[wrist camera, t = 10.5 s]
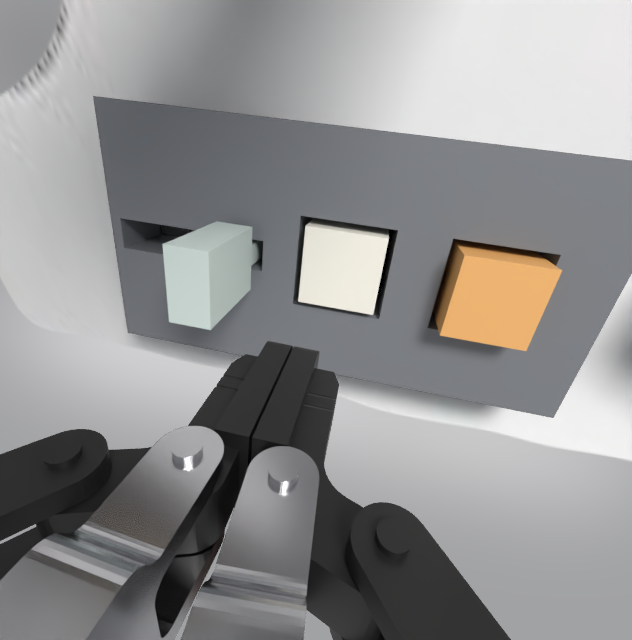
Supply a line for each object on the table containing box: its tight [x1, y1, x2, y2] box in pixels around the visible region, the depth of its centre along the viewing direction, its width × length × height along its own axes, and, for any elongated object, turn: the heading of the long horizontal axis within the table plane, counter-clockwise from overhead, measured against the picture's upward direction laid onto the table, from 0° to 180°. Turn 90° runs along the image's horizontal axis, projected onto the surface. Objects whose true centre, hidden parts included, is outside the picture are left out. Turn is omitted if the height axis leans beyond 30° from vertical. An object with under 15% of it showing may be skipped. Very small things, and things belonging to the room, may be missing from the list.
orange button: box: [433, 239, 562, 351], centre depth 19 cm, size 4×4×4 cm
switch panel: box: [93, 96, 632, 418], centre depth 22 cm, size 14×28×4 cm, turn 83°
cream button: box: [298, 218, 389, 315], centre depth 21 cm, size 4×4×4 cm
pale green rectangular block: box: [162, 221, 263, 330], centre depth 19 cm, size 4×2×10 cm, turn 173°
